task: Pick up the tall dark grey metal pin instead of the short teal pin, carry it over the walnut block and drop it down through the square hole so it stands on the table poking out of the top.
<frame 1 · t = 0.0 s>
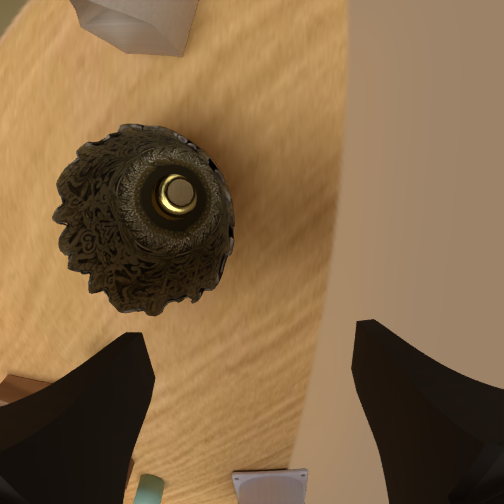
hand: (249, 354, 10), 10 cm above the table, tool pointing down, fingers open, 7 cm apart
hole block: (69, 423, 26), on the table
grey wedge block: (168, 8, 15), on the table
short pin: (152, 480, 30), on the table
cup: (181, 192, 19), on the table
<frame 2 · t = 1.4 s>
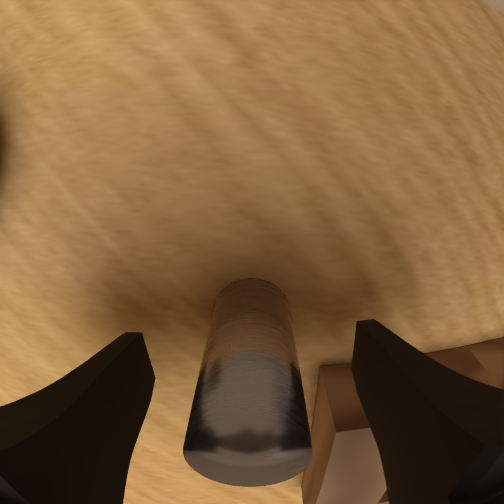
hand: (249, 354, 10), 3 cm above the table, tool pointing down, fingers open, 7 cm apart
hole block: (405, 428, 16), on the table
tall pin: (251, 312, 13), on the table
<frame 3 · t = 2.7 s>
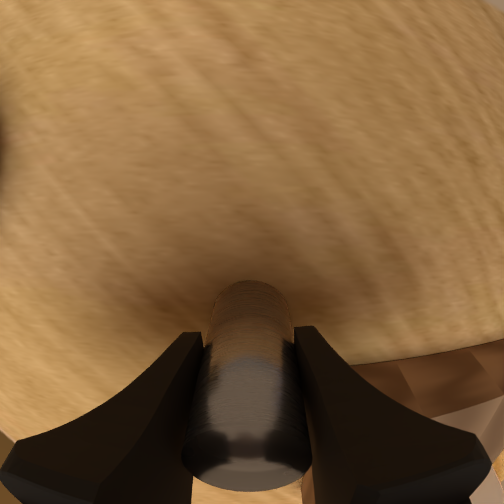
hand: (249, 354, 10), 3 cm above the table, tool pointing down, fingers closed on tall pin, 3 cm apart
hole block: (405, 430, 16), on the table
tall pin: (250, 314, 13), on the table, touching gripper
milk: (439, 494, 20), on the table
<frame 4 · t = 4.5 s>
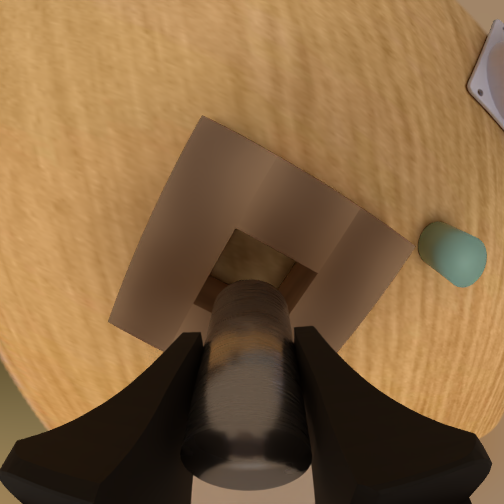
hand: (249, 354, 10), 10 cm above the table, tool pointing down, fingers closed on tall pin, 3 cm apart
hole block: (254, 259, 19), on the table
tall pin: (250, 313, 13), point 7 cm above the table, touching gripper
milk: (261, 437, 25), on the table
short pin: (436, 243, 19), on the table
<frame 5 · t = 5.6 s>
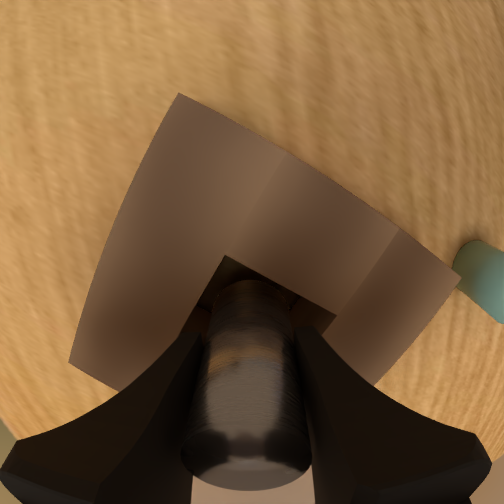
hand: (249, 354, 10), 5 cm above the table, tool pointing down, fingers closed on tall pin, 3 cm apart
hole block: (251, 287, 15), on the table
tall pin: (250, 314, 13), point 3 cm above the table, touching gripper
milk: (256, 474, 21), on the table
short pin: (472, 266, 15), on the table
when the fingers open (5 cm above the table, at t = 6.3 s): tall pin drops 2 cm, resting in hole block.
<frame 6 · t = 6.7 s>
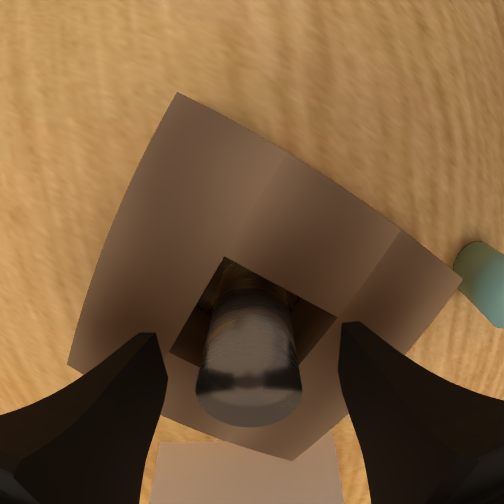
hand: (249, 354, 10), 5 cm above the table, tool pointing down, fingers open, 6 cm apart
hole block: (251, 288, 15), on the table
tall pin: (251, 287, 15), resting in hole block
milk: (256, 476, 21), on the table
short pin: (474, 267, 14), on the table, tilted 5°
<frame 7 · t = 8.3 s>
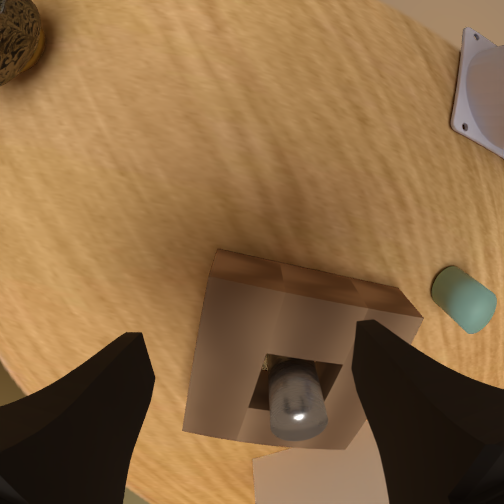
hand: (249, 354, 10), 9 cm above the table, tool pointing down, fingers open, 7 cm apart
hole block: (288, 348, 21), on the table
tall pin: (288, 348, 21), resting in hole block
milk: (330, 465, 27), on the table
short pin: (447, 285, 20), on the table, tilted 6°
cup: (31, 50, 14), on the table
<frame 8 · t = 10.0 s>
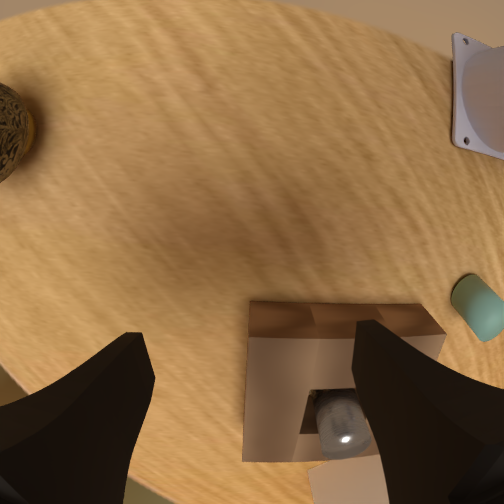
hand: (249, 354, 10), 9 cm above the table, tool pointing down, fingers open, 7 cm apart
hole block: (327, 374, 22), on the table
tall pin: (327, 373, 22), resting in hole block
milk: (379, 463, 27), on the table
short pin: (466, 292, 20), on the table, tilted 7°
cup: (23, 132, 17), on the table
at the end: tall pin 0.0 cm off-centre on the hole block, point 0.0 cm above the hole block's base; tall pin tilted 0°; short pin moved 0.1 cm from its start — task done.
